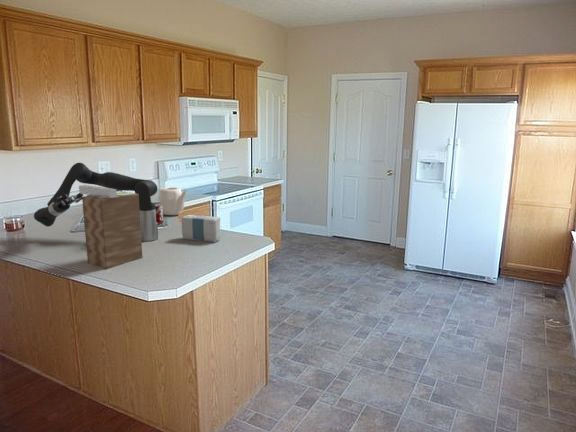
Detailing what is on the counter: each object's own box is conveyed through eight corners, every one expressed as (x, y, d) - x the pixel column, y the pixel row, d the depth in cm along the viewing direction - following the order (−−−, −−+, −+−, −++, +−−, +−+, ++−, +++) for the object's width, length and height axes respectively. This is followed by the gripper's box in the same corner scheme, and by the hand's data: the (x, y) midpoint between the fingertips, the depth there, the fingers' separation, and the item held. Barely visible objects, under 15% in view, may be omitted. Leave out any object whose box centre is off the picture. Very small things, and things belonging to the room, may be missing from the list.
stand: (87, 263, 207) (81, 196, 200) (123, 253, 224) (119, 190, 217) (107, 268, 200) (101, 199, 193) (142, 257, 217) (138, 193, 210)
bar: (79, 193, 207) (78, 185, 207) (86, 192, 210) (85, 185, 210) (109, 198, 196) (109, 190, 195) (116, 196, 199) (116, 189, 198)
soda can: (152, 224, 285) (151, 206, 282) (152, 222, 291) (151, 204, 288) (163, 224, 286) (162, 205, 284) (163, 221, 293) (162, 204, 290)
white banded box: (181, 239, 250) (180, 205, 246) (189, 236, 258) (187, 202, 253) (215, 243, 244) (214, 207, 240) (221, 239, 252) (221, 205, 247)
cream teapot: (179, 218, 303) (178, 191, 299) (152, 214, 316) (150, 187, 312) (195, 214, 316) (194, 188, 312) (168, 210, 329) (167, 185, 325)
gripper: (74, 210, 240) (89, 199, 231) (48, 215, 228) (64, 203, 219) (69, 198, 240) (84, 186, 231) (43, 201, 228) (58, 189, 219)
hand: (74, 194), depth 225 cm, fingers open, 8 cm apart
